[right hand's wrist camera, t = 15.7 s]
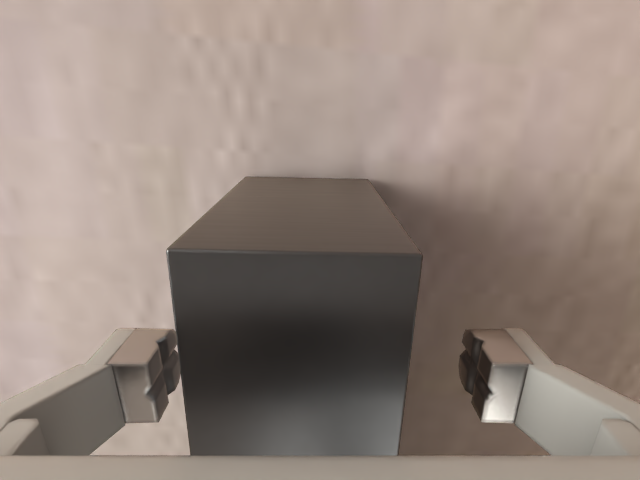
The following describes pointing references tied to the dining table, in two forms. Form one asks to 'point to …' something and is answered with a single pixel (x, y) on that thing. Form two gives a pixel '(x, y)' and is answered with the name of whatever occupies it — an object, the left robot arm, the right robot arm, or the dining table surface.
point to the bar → (295, 320)
